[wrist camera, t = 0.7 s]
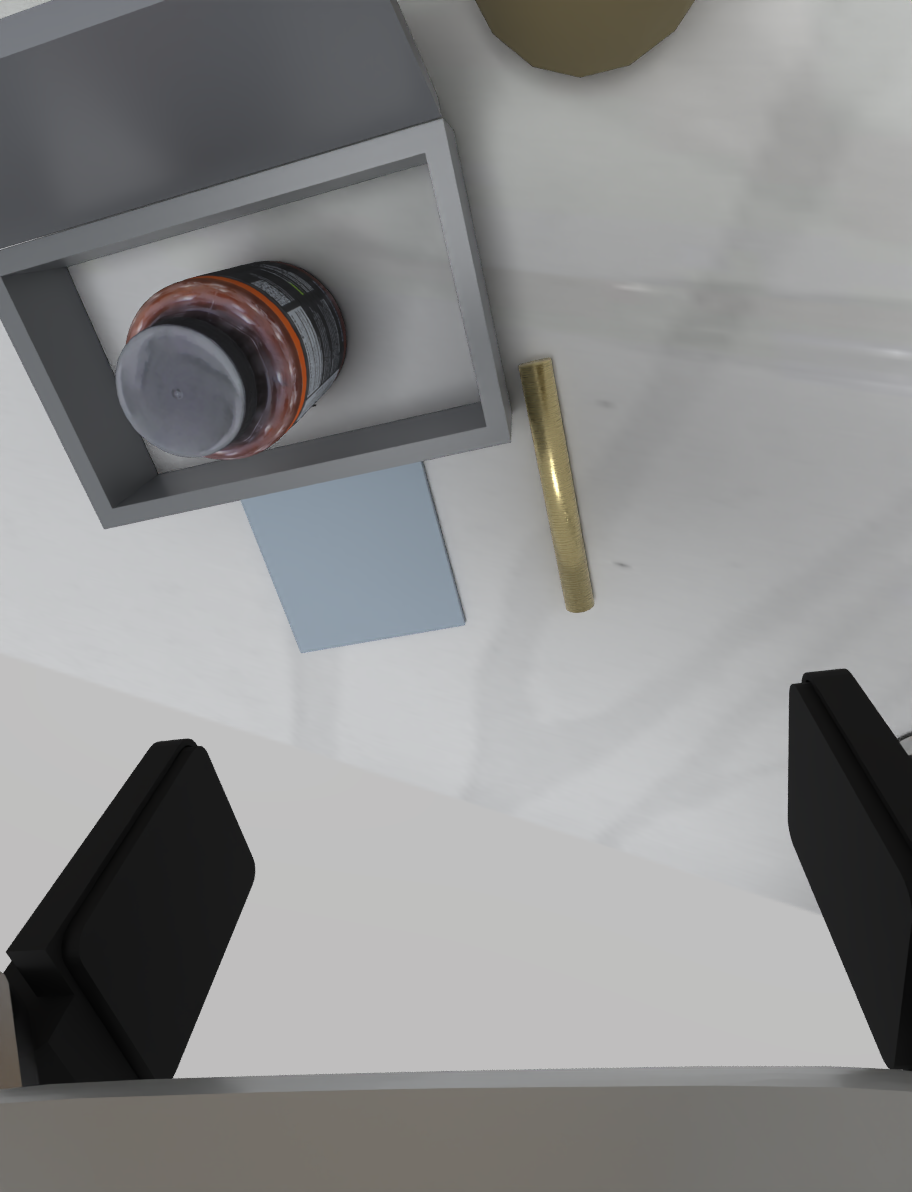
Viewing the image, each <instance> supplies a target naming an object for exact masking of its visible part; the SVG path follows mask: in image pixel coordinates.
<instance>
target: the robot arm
mask: <svg viewBox="0 0 912 1192" xmlns="http://www.w3.org/2000/svg"><path fill="white" fill-rule="evenodd" d="M788 826H789V832H790V836H791V840H792V843H793V846H794V848H795V850H796V853H797V855H798V858H799V860H800V862H801V865H802V867H803V870H804V872H805V874H806V877H807V879H808V881H809V884H810V886H811V889H812V891H813V893H814V896H815V898H816V901H817V903H818V905H819V908H820V910H821V913H822V915H823V917H824V920H825V922H826V924H827V927H828V929H829V932H830V934H831V936H832V939H833V941H834V944H835V946H836V948H837V951H838V953H839V956H840V958H841V960H842V963H843V965H844V968H845V970H846V972H847V974H848V977H849V979H850V982H851V984H852V987H853V989H854V991H855V994H856V996H857V999H858V1001H859V1003H860V1006H861V1008H862V1010H863V1013H864V1015H865V1018H866V1020H867V1022H868V1025H869V1027H870V1030H871V1032H872V1034H873V1037H874V1039H875V1042H876V1044H877V1046H878V1049H879V1051H880V1054H881V1056H882V1058H883V1060H884V1062H885V1064H886V1065H887V1067H888V1068H889V1069H875V1068H851V1067H831V1066H740V1067H739V1066H732V1067H731V1066H716V1067H715V1066H704V1067H703V1066H693V1067H642V1068H641V1067H640V1068H588V1069H587V1068H586V1069H585V1068H583V1069H533V1070H531V1069H528V1070H483V1071H482V1070H481V1071H441V1072H440V1071H439V1072H397V1073H395V1072H394V1073H356V1074H319V1075H318V1074H315V1075H279V1076H246V1077H214V1078H213V1077H212V1078H181V1079H180V1078H178V1079H172V1078H173V1076H174V1074H175V1072H176V1070H177V1068H178V1065H179V1063H180V1060H181V1057H182V1055H183V1053H184V1051H185V1048H186V1046H187V1043H188V1041H189V1038H190V1036H191V1033H192V1031H193V1029H194V1026H195V1023H196V1021H197V1019H198V1016H199V1014H200V1011H201V1009H202V1007H203V1004H204V1002H205V999H206V997H207V994H208V992H209V990H210V987H211V985H212V982H213V980H214V977H215V975H216V972H217V970H218V968H219V965H220V963H221V960H222V958H223V955H224V953H225V951H226V948H227V945H228V943H229V941H230V938H231V936H232V933H233V931H234V929H235V926H236V924H237V921H238V919H239V916H240V914H241V911H242V909H243V907H244V904H245V902H246V899H247V897H248V894H249V892H250V889H251V887H252V885H253V882H254V877H255V863H254V860H253V857H252V855H251V852H250V850H249V848H248V845H247V843H246V841H245V839H244V836H243V834H242V831H241V829H240V827H239V825H238V822H237V820H236V818H235V815H234V813H233V811H232V808H231V806H230V804H229V801H228V799H227V797H226V795H225V792H224V790H223V788H222V785H221V783H220V781H219V778H218V776H217V774H216V772H215V769H214V767H213V764H212V762H211V760H210V758H209V755H208V753H207V751H206V750H205V748H203V747H202V746H197V745H196V743H195V742H194V741H193V740H192V739H178V740H170V741H160V742H156V743H154V744H153V745H152V746H151V747H150V748H149V750H148V751H147V753H146V754H145V755H144V757H143V758H142V760H141V761H140V763H139V764H138V765H137V767H136V768H135V770H134V771H133V772H132V774H131V776H130V777H129V778H128V780H127V781H126V782H125V784H124V785H123V787H122V788H121V789H120V791H119V792H118V794H117V795H116V797H115V798H114V800H113V801H112V802H111V804H110V805H109V806H108V808H107V809H106V811H105V812H104V814H103V815H102V816H101V818H100V819H99V821H98V822H97V824H96V825H95V826H94V828H93V829H92V831H91V832H90V833H89V835H88V836H87V838H86V839H85V840H84V842H83V843H82V845H81V846H80V848H79V849H78V850H77V852H76V853H75V855H74V856H73V857H72V859H71V860H70V862H69V863H68V865H67V866H66V867H65V869H64V870H63V872H62V873H61V875H60V876H59V877H58V879H57V880H56V882H55V883H54V884H53V886H52V887H51V889H50V890H49V892H48V893H47V894H46V896H45V897H44V899H43V900H42V902H41V903H40V904H39V906H38V907H37V909H36V910H35V911H34V913H33V914H32V916H31V917H30V919H29V920H28V921H27V923H26V924H25V925H24V927H23V928H22V930H21V931H20V933H19V934H18V935H17V937H16V938H15V940H14V941H13V942H12V944H11V945H10V947H9V948H8V950H7V951H6V953H7V954H8V956H9V957H10V959H11V960H12V961H11V963H10V964H9V966H8V967H7V969H6V970H5V971H4V973H2V972H0V1192H912V736H910V737H908V738H906V739H904V740H902V741H900V742H899V741H898V740H897V738H896V737H895V735H894V734H893V733H892V731H891V730H890V728H889V727H888V725H887V724H886V722H885V721H884V720H883V718H882V717H881V715H880V714H879V712H878V711H877V710H876V708H875V707H874V705H873V704H872V702H871V701H870V700H869V698H868V697H867V695H866V694H865V692H864V691H863V690H862V688H861V687H860V685H859V684H858V682H857V681H856V680H855V678H854V677H853V675H852V674H851V673H850V672H849V671H848V670H847V669H835V670H826V671H817V672H807V673H805V674H803V677H802V683H797V684H792V685H791V686H790V690H789V759H788Z"/></svg>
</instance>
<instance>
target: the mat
mask: <svg viewBox="0 0 912 1192" xmlns="http://www.w3.org/2000/svg"><path fill="white" fill-rule="evenodd" d="M241 503H242V505H243V508H244V510H245V513H246V515H247V518H248V520H249V523H250V525H251V528H252V530H253V533H254V535H255V538H256V541H257V543H258V546H259V548H260V551H261V553H262V556H263V558H264V561H265V563H266V566H267V568H268V571H269V573H270V576H271V578H272V581H273V584H274V586H275V589H276V591H277V594H278V596H279V599H280V601H281V604H282V606H283V609H284V611H285V614H286V616H287V619H288V621H289V624H290V627H291V629H292V632H293V634H294V637H295V639H296V642H297V644H298V647H299V649H300V652H301V653H305V652H311V651H317V650H323V649H329V648H334V647H340V646H346V645H352V644H358V643H364V642H370V641H375V640H381V639H387V638H393V637H399V636H405V635H410V634H416V633H422V632H428V631H434V630H440V629H446V628H451V627H457V626H463V625H465V618H464V614H463V610H462V606H461V603H460V599H459V595H458V592H457V588H456V584H455V580H454V577H453V573H452V569H451V566H450V562H449V558H448V555H447V551H446V547H445V543H444V540H443V536H442V532H441V529H440V525H439V521H438V518H437V514H436V510H435V506H434V503H433V499H432V495H431V492H430V488H429V484H428V480H427V477H426V473H425V469H424V466H423V462H422V461H421V462H416V463H412V464H407V465H402V466H398V467H393V468H388V469H384V470H379V471H374V472H370V473H365V474H360V475H355V476H351V477H346V478H341V479H337V480H332V481H327V482H323V483H318V484H313V485H309V486H304V487H299V488H295V489H290V490H285V491H281V492H276V493H271V494H267V495H262V496H257V497H253V498H248V499H243V500H241Z"/></svg>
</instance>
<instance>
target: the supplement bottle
mask: <svg viewBox="0 0 912 1192" xmlns="http://www.w3.org/2000/svg"><path fill="white" fill-rule="evenodd" d="M345 354H346V331H345V325H344V321H343V318H342V315H341V312H340V310H339V308H338V305H337V303H336V302H335V300H334V298H333V296H332V295H331V294H330V293H329V292H328V291H327V289H326V288H325V287H324V286H323V285H322V284H321V283H320V282H319V281H318V280H317V279H316V278H314V277H313V276H312V275H310V274H309V273H307V272H306V271H304V270H302V269H300V268H298V267H295V266H293V265H291V264H286V263H283V262H275V261H263V262H254V263H250V264H245V265H241V266H237V267H234V268H230V269H225V270H221V271H217V272H213V273H209V274H204V275H200V276H196V277H193V278H189V279H185V280H183V281H181V282H177V283H174V284H172V285H169V286H167V287H165V288H163V289H162V290H160V291H158V292H157V293H155V294H154V295H153V296H152V297H150V298H149V299H148V300H147V301H146V302H145V303H144V304H143V306H142V307H141V308H140V310H139V311H138V312H137V314H136V316H135V318H134V320H133V322H132V324H131V326H130V329H129V332H128V336H127V340H126V345H125V347H124V348H123V350H122V352H121V354H120V356H119V359H118V362H117V367H116V373H115V375H116V379H115V383H116V390H117V396H118V398H119V402H120V405H121V407H122V409H123V411H124V413H125V415H126V417H127V419H128V420H129V421H130V423H131V425H132V426H133V427H134V429H135V430H136V431H137V432H138V433H139V434H140V435H141V436H142V437H144V438H145V439H146V440H147V441H148V442H150V443H151V444H152V445H154V446H156V447H158V448H159V449H161V450H163V451H165V452H168V453H171V454H173V455H177V456H182V457H205V458H212V459H221V460H233V459H241V458H246V457H250V456H253V455H255V454H258V453H259V452H262V451H264V450H265V449H267V448H268V447H270V446H271V445H272V444H274V443H275V442H276V441H278V440H279V439H280V438H281V437H282V436H283V435H284V434H285V433H286V432H287V431H288V430H289V429H290V428H291V427H292V426H293V425H294V424H296V423H297V421H298V420H299V419H300V418H301V417H302V416H303V415H304V414H305V413H306V412H307V411H308V410H309V409H310V408H311V407H313V406H316V405H313V404H314V403H316V402H317V400H318V399H319V398H320V397H321V396H322V395H323V394H324V393H325V392H326V391H327V390H328V389H329V387H330V386H331V384H332V383H333V382H334V380H335V379H336V378H337V376H338V374H339V372H340V370H341V367H342V365H343V362H344V359H345Z"/></svg>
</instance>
